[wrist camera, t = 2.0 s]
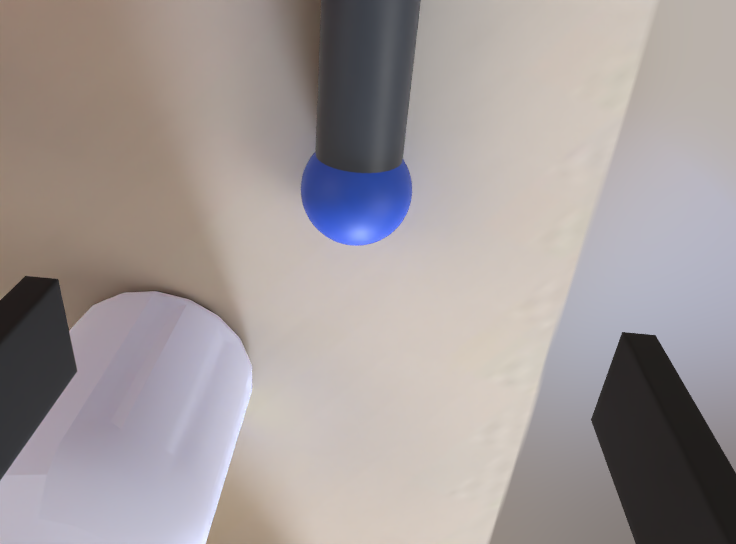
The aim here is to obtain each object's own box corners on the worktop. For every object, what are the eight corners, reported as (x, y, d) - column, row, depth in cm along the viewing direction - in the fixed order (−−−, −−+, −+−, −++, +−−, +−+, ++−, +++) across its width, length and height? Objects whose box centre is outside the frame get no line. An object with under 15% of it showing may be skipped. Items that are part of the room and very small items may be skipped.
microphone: (320, -235, 19) (301, -267, 15) (459, -222, 19) (473, -251, 15) (307, 211, 26) (292, 260, 23) (405, 220, 26) (405, 270, 23)
